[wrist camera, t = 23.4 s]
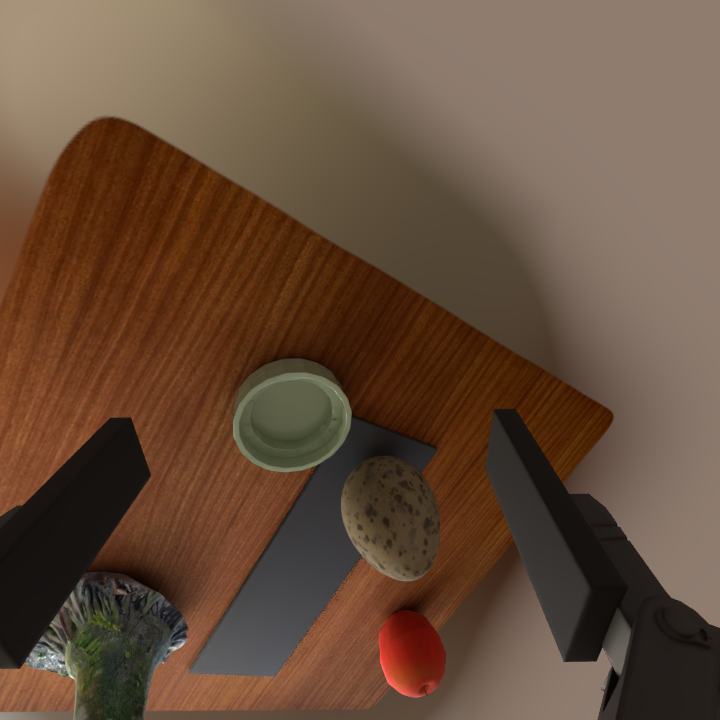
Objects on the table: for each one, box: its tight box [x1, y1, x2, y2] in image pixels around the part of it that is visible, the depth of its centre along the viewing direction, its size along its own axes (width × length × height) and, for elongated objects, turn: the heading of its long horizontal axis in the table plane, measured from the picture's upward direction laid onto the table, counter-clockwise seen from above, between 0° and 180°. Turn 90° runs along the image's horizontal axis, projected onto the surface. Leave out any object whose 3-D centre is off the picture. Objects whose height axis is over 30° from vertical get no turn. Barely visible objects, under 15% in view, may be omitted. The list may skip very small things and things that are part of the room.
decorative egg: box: [341, 456, 440, 581], centre depth 44 cm, size 11×11×15 cm
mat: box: [189, 415, 437, 677], centre depth 56 cm, size 48×14×1 cm, turn 148°
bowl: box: [233, 358, 352, 472], centre depth 43 cm, size 12×12×4 cm
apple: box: [379, 610, 446, 697], centre depth 63 cm, size 10×10×12 cm
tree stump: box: [25, 571, 188, 720], centre depth 45 cm, size 18×20×18 cm
